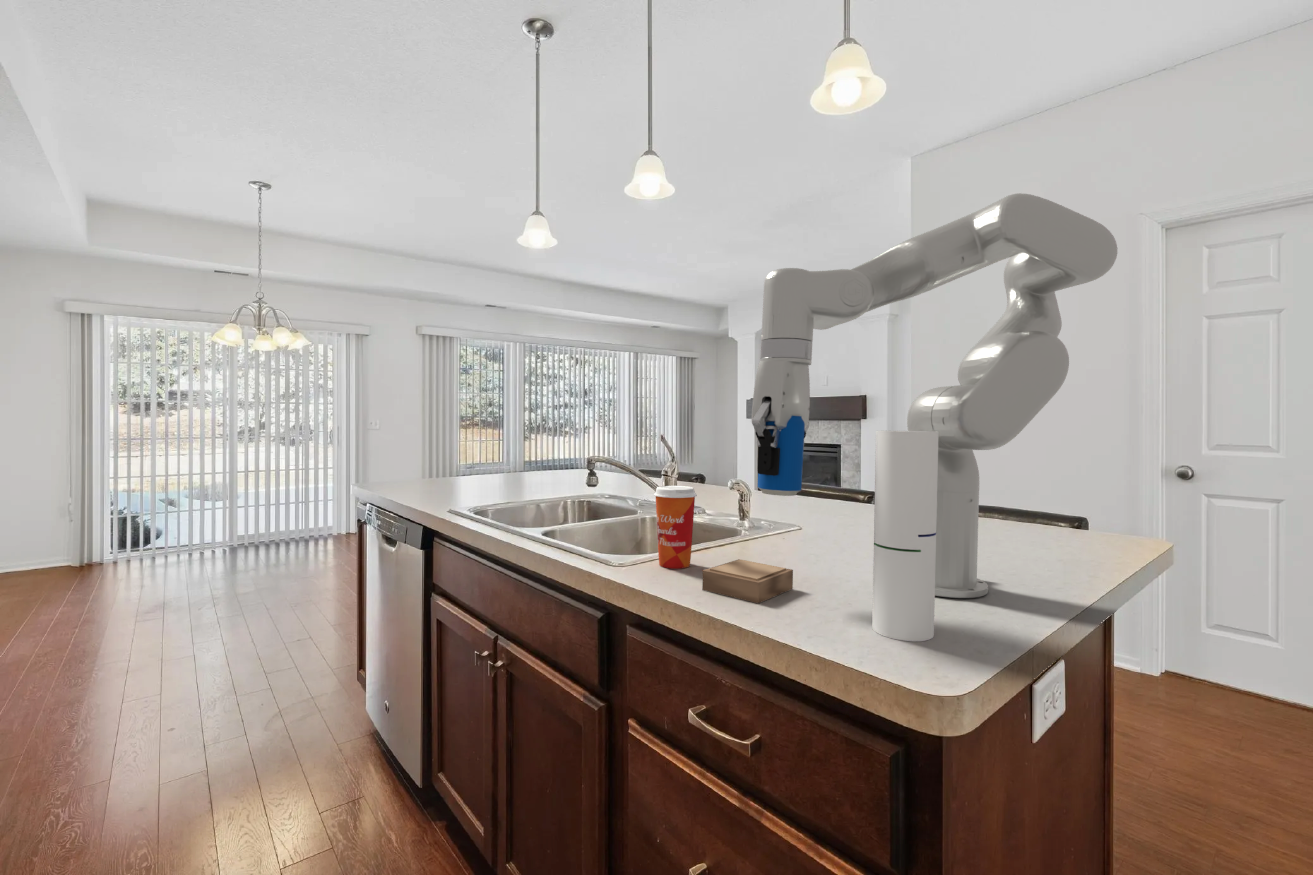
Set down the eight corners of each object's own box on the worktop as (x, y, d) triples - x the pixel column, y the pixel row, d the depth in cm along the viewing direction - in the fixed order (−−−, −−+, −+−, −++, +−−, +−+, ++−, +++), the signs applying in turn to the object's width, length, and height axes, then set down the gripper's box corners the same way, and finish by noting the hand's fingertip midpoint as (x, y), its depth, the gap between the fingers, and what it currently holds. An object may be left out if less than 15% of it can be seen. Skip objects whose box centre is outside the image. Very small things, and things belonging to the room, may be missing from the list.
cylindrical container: (947, 638, 72) (952, 431, 71) (897, 643, 70) (902, 431, 69) (906, 618, 79) (910, 430, 78) (860, 623, 77) (864, 430, 76)
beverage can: (802, 497, 85) (806, 414, 85) (757, 494, 87) (761, 412, 86) (799, 492, 92) (803, 415, 91) (757, 490, 93) (761, 413, 93)
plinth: (738, 577, 99) (738, 557, 99) (792, 588, 92) (793, 568, 92) (702, 589, 91) (702, 568, 91) (758, 603, 85) (758, 580, 85)
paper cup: (644, 565, 106) (645, 487, 106) (671, 557, 112) (672, 484, 112) (678, 572, 101) (679, 491, 101) (705, 564, 107) (705, 487, 107)
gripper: (790, 361, 98) (784, 469, 98) (733, 348, 84) (727, 473, 85) (833, 360, 93) (827, 474, 93) (780, 345, 80) (773, 478, 80)
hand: (779, 472), depth 89 cm, fingers closed on beverage can, 6 cm apart
